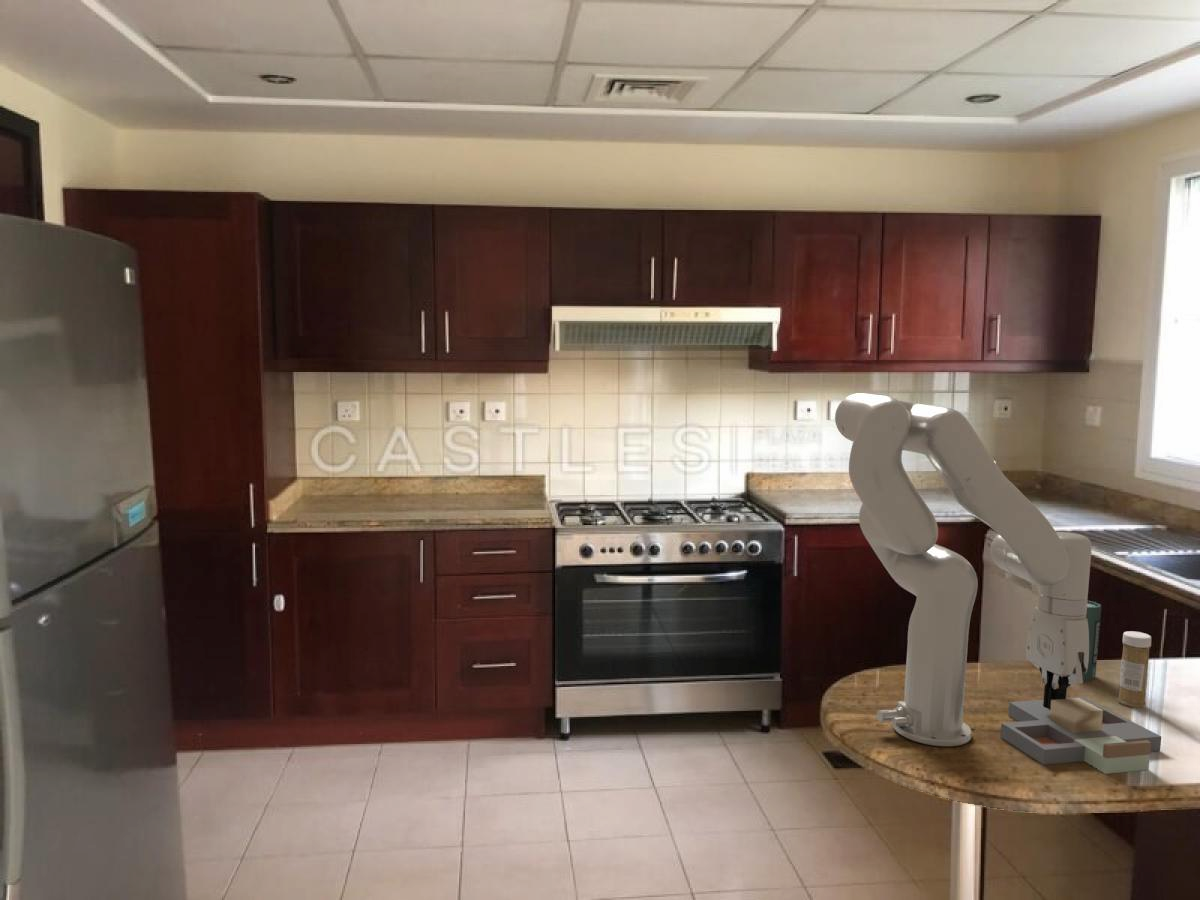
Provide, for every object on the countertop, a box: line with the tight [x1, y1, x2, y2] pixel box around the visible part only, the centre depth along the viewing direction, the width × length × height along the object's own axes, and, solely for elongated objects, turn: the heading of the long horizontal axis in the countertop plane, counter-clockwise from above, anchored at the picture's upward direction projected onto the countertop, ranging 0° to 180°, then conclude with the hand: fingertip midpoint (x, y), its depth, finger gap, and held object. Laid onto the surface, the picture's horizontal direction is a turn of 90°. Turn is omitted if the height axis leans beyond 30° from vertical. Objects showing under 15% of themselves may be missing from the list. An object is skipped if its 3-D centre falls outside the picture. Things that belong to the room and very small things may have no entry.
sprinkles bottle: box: [1117, 630, 1152, 709], centre depth 171 cm, size 5×5×14 cm
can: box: [1082, 600, 1102, 682], centre depth 186 cm, size 6×6×15 cm
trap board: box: [1000, 696, 1162, 775], centre depth 155 cm, size 23×23×4 cm
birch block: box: [1050, 697, 1103, 733], centre depth 155 cm, size 6×6×4 cm
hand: (1054, 707), depth 160 cm, fingers closed
